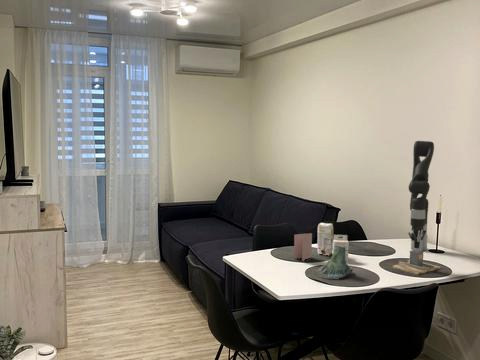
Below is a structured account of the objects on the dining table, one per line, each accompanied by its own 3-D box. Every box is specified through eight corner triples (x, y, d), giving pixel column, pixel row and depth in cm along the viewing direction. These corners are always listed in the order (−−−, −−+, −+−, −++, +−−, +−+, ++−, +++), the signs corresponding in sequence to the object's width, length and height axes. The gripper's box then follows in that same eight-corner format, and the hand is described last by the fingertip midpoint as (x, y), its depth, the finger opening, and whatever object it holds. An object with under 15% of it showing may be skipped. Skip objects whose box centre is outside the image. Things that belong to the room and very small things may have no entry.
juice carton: (329, 256, 281) (329, 225, 279) (316, 254, 285) (316, 224, 283) (333, 253, 287) (334, 223, 285) (320, 251, 291) (321, 222, 290)
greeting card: (310, 257, 278) (311, 233, 277) (316, 260, 271) (316, 235, 270) (293, 259, 275) (293, 234, 273) (298, 262, 268) (299, 236, 266)
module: (415, 264, 259) (415, 249, 258) (423, 266, 255) (423, 251, 254) (409, 265, 257) (410, 250, 256) (417, 268, 252) (417, 252, 252)
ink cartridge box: (333, 261, 270) (333, 236, 269) (332, 258, 275) (333, 234, 274) (348, 261, 270) (348, 236, 268) (347, 259, 274) (347, 234, 273)
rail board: (415, 261, 268) (415, 257, 268) (440, 268, 255) (440, 264, 254) (392, 267, 257) (392, 263, 257) (417, 274, 244) (417, 270, 244)
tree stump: (307, 272, 250) (313, 239, 251) (337, 277, 257) (343, 245, 258) (325, 280, 233) (332, 245, 234) (357, 285, 240) (364, 251, 241)
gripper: (416, 219, 246) (415, 251, 248) (431, 216, 254) (430, 247, 255) (404, 217, 253) (403, 248, 254) (419, 214, 260) (418, 245, 262)
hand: (416, 248), depth 255 cm, fingers closed
